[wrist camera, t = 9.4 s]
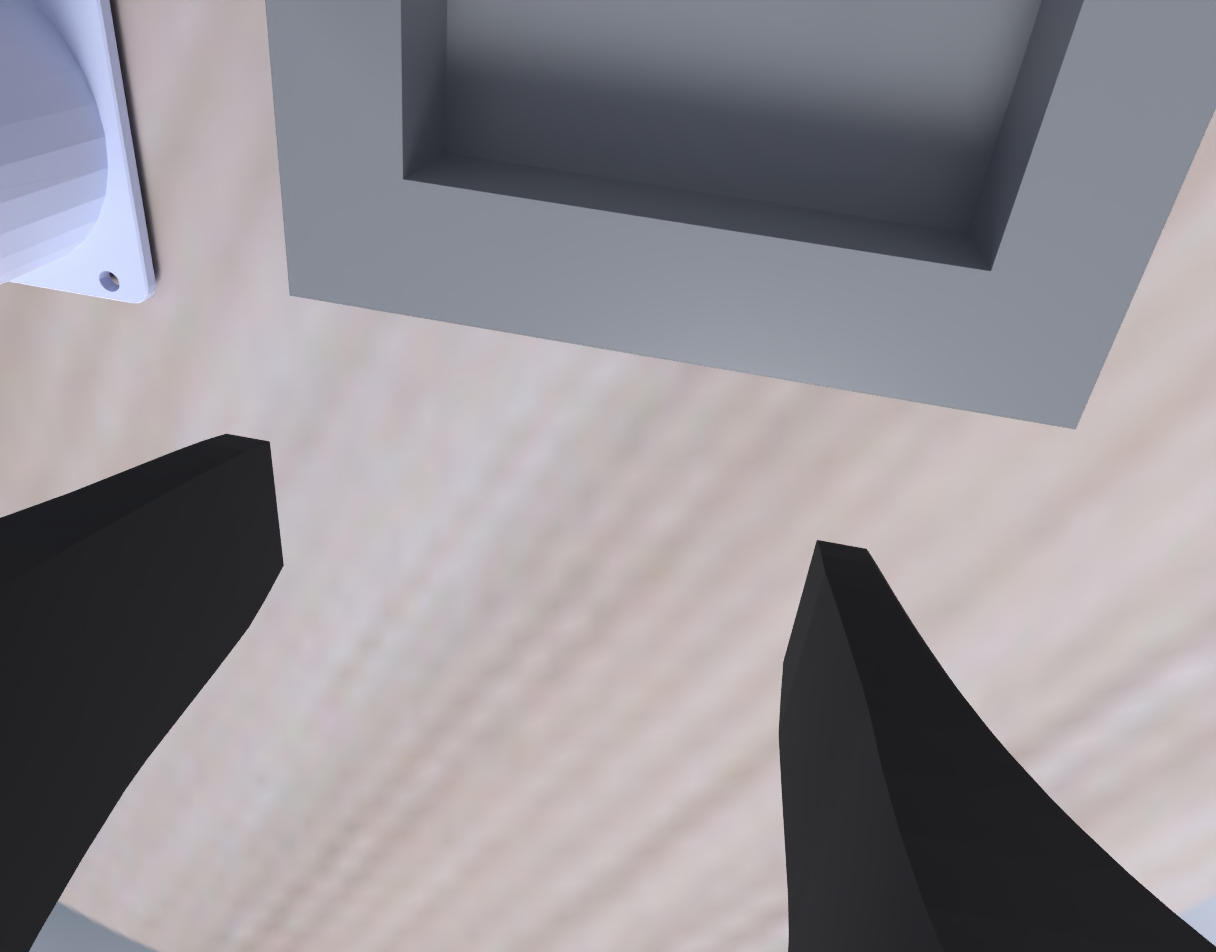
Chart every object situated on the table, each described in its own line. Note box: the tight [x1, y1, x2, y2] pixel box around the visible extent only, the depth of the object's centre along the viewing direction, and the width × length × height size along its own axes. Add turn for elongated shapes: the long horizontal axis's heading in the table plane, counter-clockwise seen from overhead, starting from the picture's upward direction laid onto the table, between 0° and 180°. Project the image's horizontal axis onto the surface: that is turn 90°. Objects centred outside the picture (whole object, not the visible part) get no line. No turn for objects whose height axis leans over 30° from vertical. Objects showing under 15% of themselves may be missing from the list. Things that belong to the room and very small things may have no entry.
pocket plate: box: [265, 0, 1216, 429], centre depth 16 cm, size 16×12×3 cm
